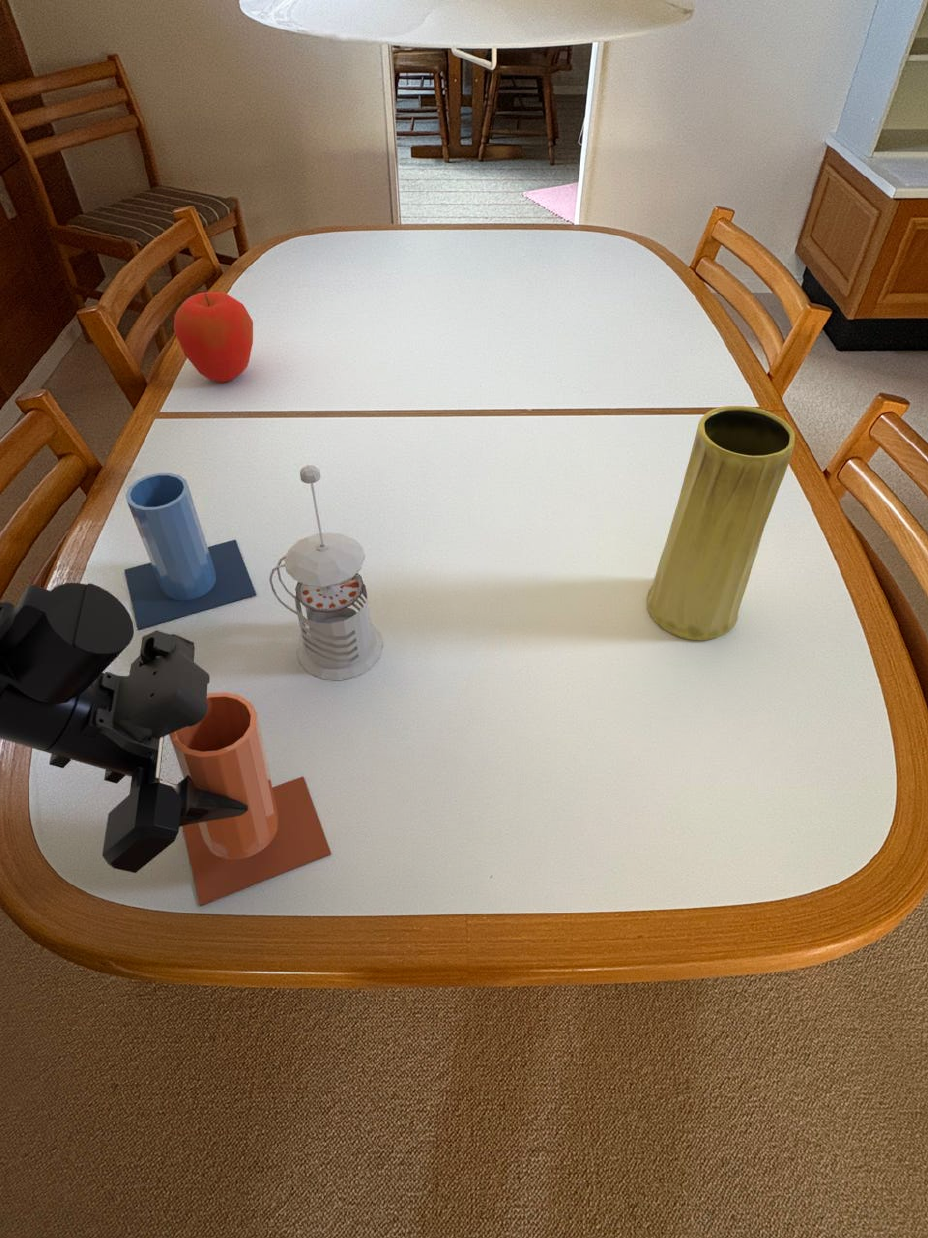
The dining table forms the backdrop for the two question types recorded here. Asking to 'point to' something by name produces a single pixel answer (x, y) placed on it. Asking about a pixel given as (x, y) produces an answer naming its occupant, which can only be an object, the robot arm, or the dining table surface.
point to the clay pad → (287, 850)
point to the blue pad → (160, 608)
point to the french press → (330, 601)
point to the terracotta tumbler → (230, 774)
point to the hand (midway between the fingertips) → (246, 773)
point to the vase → (719, 520)
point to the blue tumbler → (172, 535)
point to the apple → (215, 335)
